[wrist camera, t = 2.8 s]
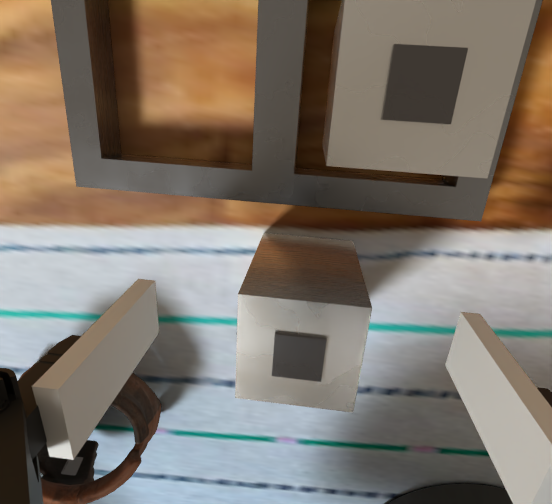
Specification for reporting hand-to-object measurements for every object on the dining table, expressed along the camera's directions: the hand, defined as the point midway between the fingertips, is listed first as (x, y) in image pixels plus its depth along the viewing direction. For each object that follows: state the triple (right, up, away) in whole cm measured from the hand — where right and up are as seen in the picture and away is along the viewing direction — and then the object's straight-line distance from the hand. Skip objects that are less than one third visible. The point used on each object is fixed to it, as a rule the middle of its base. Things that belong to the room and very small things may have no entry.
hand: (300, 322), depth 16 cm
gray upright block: (+4, +11, +2) cm, 11 cm away
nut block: (+1, +2, +6) cm, 6 cm away
